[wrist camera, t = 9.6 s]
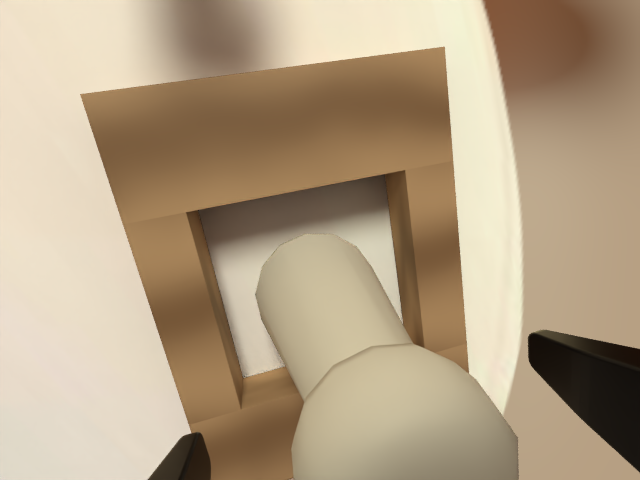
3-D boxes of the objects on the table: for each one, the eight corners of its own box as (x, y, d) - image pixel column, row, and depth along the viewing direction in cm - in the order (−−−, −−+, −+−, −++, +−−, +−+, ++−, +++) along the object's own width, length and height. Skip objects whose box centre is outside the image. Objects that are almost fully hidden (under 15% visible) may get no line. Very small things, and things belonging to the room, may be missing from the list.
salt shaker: (362, 226, 18) (623, 352, 5) (355, 321, 19) (556, 617, 6) (255, 225, 16) (255, 384, 4) (255, 327, 18) (252, 704, 5)
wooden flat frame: (447, 390, 21) (472, 417, 19) (220, 462, 19) (215, 504, 16) (417, 65, 16) (444, 46, 14) (110, 108, 14) (80, 94, 12)
